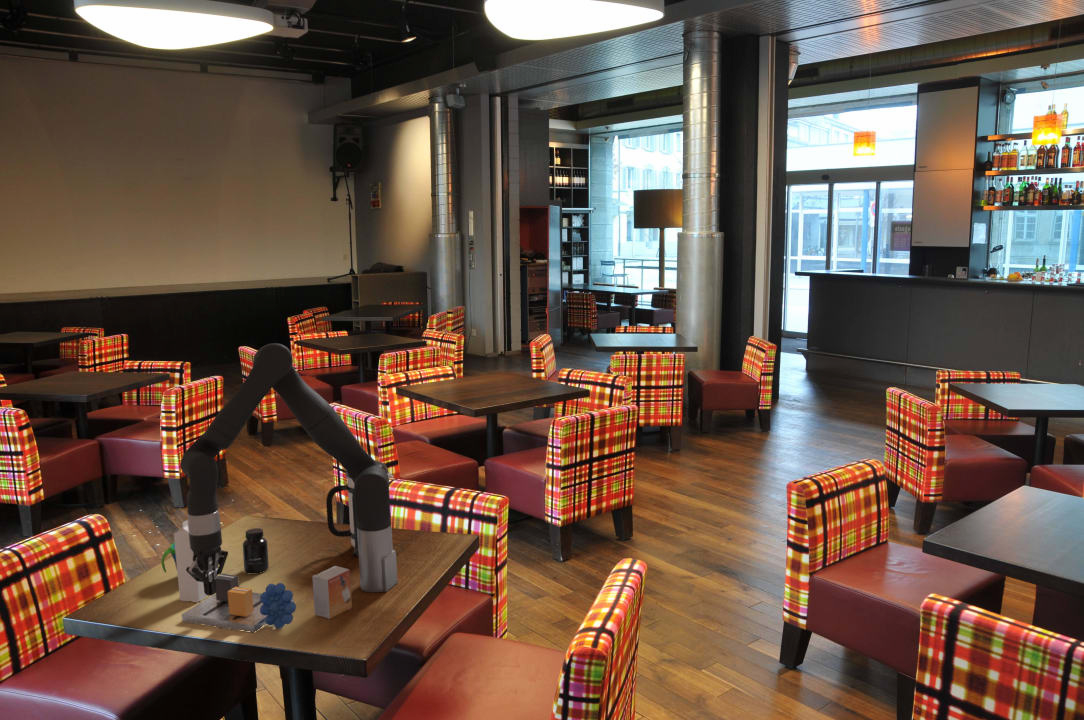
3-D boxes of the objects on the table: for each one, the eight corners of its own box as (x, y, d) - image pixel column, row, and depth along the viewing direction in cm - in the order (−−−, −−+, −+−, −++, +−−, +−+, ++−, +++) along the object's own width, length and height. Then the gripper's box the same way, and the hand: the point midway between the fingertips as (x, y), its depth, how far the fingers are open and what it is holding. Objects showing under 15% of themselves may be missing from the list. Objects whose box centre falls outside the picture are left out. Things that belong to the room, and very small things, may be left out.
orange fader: (253, 611, 208) (251, 588, 207) (245, 616, 205) (243, 593, 204) (237, 609, 210) (235, 585, 209) (229, 614, 207) (227, 590, 206)
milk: (179, 601, 221) (171, 522, 218) (194, 591, 227) (186, 514, 224) (199, 602, 220) (191, 523, 216) (213, 593, 225) (206, 515, 222)
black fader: (239, 597, 217) (238, 575, 216) (232, 602, 214) (230, 579, 213) (224, 595, 218) (222, 572, 217) (216, 600, 215) (214, 577, 214)
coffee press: (370, 535, 266) (365, 445, 262) (405, 545, 257) (401, 452, 252) (327, 553, 252) (321, 458, 248) (363, 564, 243) (357, 465, 239)
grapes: (309, 626, 205) (306, 580, 203) (288, 637, 199) (286, 590, 197) (275, 616, 210) (272, 571, 209) (254, 627, 204) (251, 581, 203)
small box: (329, 619, 208) (327, 580, 206) (314, 615, 211) (311, 575, 209) (352, 607, 215) (350, 569, 213) (337, 602, 217) (334, 564, 216)
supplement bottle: (253, 576, 236) (250, 536, 234) (239, 571, 240) (236, 531, 238) (274, 568, 241) (271, 529, 239) (260, 563, 245) (257, 525, 244)
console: (294, 605, 217) (293, 597, 216) (254, 633, 202) (253, 625, 201) (225, 595, 224) (224, 588, 223) (182, 621, 209) (181, 613, 208)
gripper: (198, 539, 200) (204, 607, 202) (234, 521, 212) (240, 585, 215) (173, 536, 202) (179, 603, 205) (210, 518, 214) (216, 582, 217)
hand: (210, 594), depth 210 cm, fingers closed
